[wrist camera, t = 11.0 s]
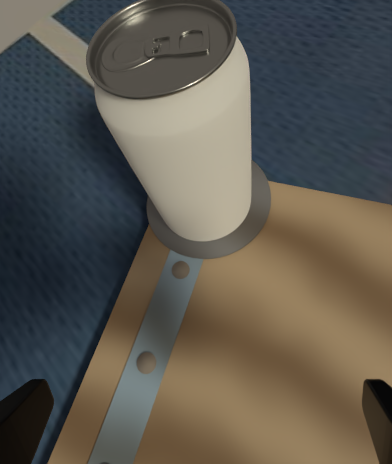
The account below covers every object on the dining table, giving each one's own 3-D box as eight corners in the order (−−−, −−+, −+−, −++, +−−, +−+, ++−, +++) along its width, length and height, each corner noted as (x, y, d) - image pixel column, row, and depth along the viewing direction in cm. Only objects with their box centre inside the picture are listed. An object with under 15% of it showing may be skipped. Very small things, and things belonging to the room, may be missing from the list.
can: (163, 169, 24) (87, 1, 13) (247, 160, 23) (242, -30, 12) (160, 247, 21) (60, 118, 10) (255, 240, 20) (257, 90, 9)
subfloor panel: (438, 783, 12) (460, 834, 11) (19, 512, 18) (1, 524, 16) (468, 202, 20) (482, 192, 19) (175, 149, 26) (171, 138, 25)
